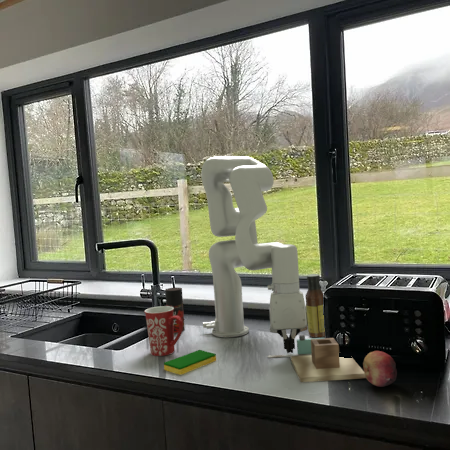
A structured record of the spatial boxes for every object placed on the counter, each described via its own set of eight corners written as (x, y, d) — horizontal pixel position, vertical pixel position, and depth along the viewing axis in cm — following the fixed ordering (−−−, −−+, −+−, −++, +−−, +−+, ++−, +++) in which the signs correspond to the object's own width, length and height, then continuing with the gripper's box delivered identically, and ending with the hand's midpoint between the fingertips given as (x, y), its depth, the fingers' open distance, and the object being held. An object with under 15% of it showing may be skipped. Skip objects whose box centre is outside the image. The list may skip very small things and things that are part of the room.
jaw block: (316, 369, 125) (315, 346, 124) (311, 361, 131) (310, 339, 130) (339, 367, 125) (338, 344, 124) (334, 359, 131) (333, 337, 130)
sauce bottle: (326, 332, 160) (323, 272, 159) (329, 338, 154) (326, 276, 153) (306, 333, 161) (303, 273, 160) (308, 338, 155) (304, 276, 154)
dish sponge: (163, 371, 135) (163, 362, 135) (200, 357, 145) (199, 349, 145) (180, 376, 130) (179, 367, 130) (217, 361, 140) (216, 353, 140)
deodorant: (169, 333, 171) (166, 291, 170) (167, 329, 177) (164, 288, 176) (185, 331, 172) (183, 289, 171) (183, 327, 178) (180, 286, 177)
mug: (141, 355, 149) (138, 311, 148) (160, 346, 156) (157, 305, 156) (173, 360, 142) (170, 314, 141) (192, 351, 150) (189, 307, 149)
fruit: (365, 378, 120) (364, 346, 119) (398, 380, 117) (397, 348, 116) (361, 390, 113) (359, 356, 112) (396, 393, 110) (395, 358, 109)
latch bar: (298, 354, 139) (297, 336, 139) (297, 352, 140) (296, 335, 140) (326, 352, 139) (325, 334, 139) (324, 351, 140) (324, 333, 140)
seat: (276, 383, 120) (275, 367, 119) (267, 356, 141) (266, 341, 140) (365, 378, 120) (364, 361, 120) (343, 351, 141) (342, 336, 141)
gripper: (260, 292, 135) (264, 357, 136) (314, 288, 135) (318, 354, 136) (258, 287, 142) (262, 349, 143) (309, 284, 142) (313, 346, 143)
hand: (289, 351), depth 139 cm, fingers closed
